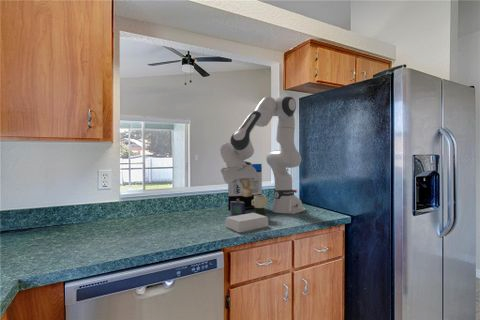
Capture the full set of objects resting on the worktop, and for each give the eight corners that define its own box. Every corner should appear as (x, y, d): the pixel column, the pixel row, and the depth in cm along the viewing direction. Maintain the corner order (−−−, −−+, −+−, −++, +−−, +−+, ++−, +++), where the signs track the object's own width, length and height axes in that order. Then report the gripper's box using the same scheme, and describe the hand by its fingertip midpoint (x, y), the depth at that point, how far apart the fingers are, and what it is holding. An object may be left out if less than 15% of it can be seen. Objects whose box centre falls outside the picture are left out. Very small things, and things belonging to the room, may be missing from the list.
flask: (229, 216, 160) (229, 198, 159) (231, 215, 162) (231, 197, 162) (244, 218, 156) (243, 199, 156) (246, 217, 158) (245, 198, 158)
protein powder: (264, 208, 182) (264, 164, 181) (230, 211, 174) (230, 164, 173) (259, 206, 191) (258, 163, 190) (226, 208, 183) (225, 164, 182)
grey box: (253, 221, 148) (253, 212, 148) (268, 226, 138) (268, 216, 138) (225, 226, 138) (225, 217, 138) (239, 232, 128) (238, 222, 128)
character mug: (265, 216, 160) (265, 194, 160) (271, 218, 154) (271, 196, 153) (248, 218, 155) (248, 195, 155) (254, 221, 149) (254, 197, 149)
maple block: (247, 194, 140) (247, 179, 140) (252, 195, 137) (252, 180, 137) (241, 195, 138) (241, 180, 138) (245, 196, 135) (245, 180, 135)
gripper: (221, 163, 137) (232, 184, 129) (253, 162, 149) (265, 181, 141) (217, 172, 141) (227, 193, 133) (248, 170, 152) (260, 189, 145)
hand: (247, 187), depth 137 cm, fingers closed on maple block, 4 cm apart
